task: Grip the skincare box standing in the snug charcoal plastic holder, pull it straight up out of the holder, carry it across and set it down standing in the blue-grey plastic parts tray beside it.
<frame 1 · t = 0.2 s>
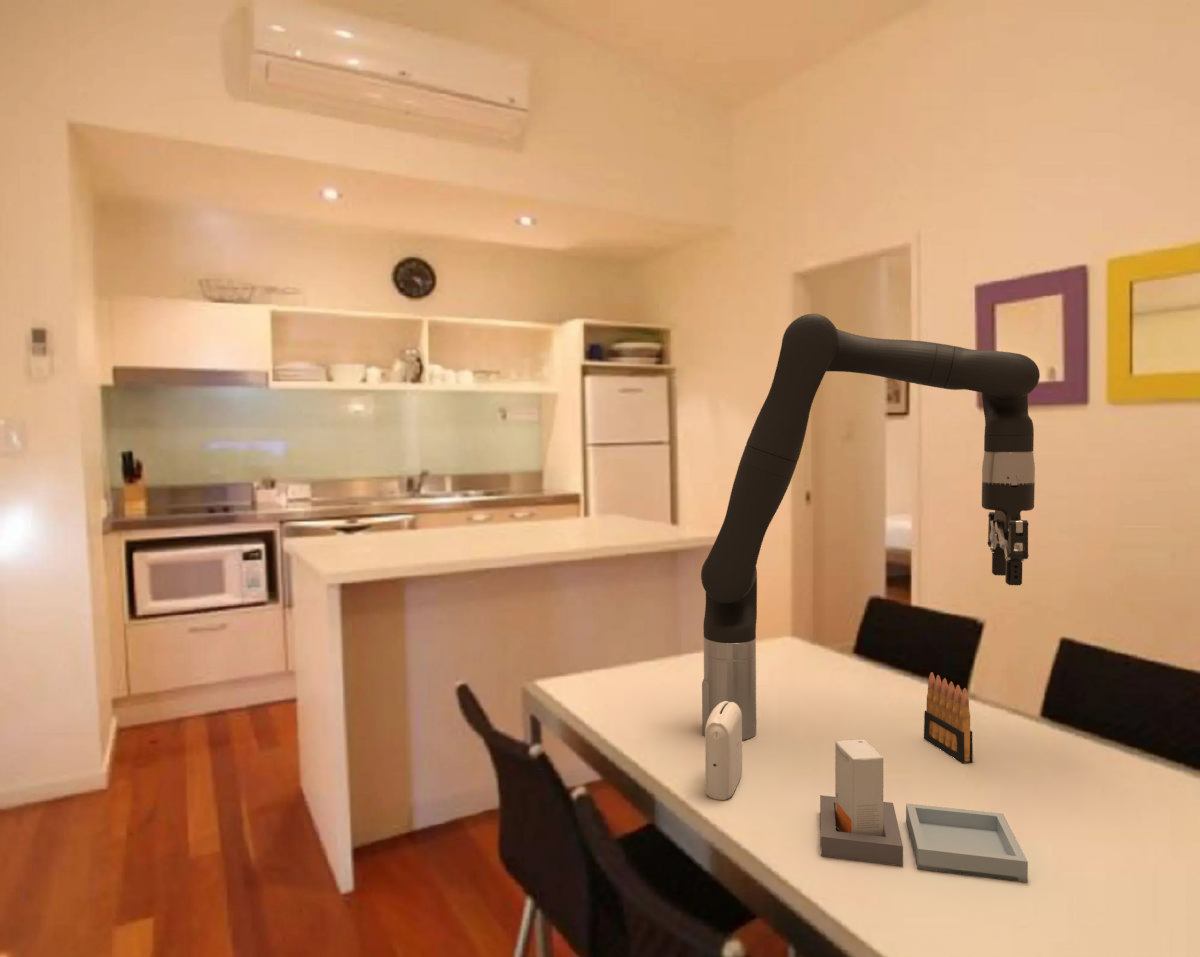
hand: (1006, 579, 125), 29 cm above the table, tool pointing down, fingers open, 8 cm apart
ammunition clip: (947, 751, 129), on the table
holder: (858, 837, 101), on the table
skincare box: (858, 839, 101), resting in holder
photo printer: (724, 786, 117), on the table
parts tray: (962, 849, 98), on the table
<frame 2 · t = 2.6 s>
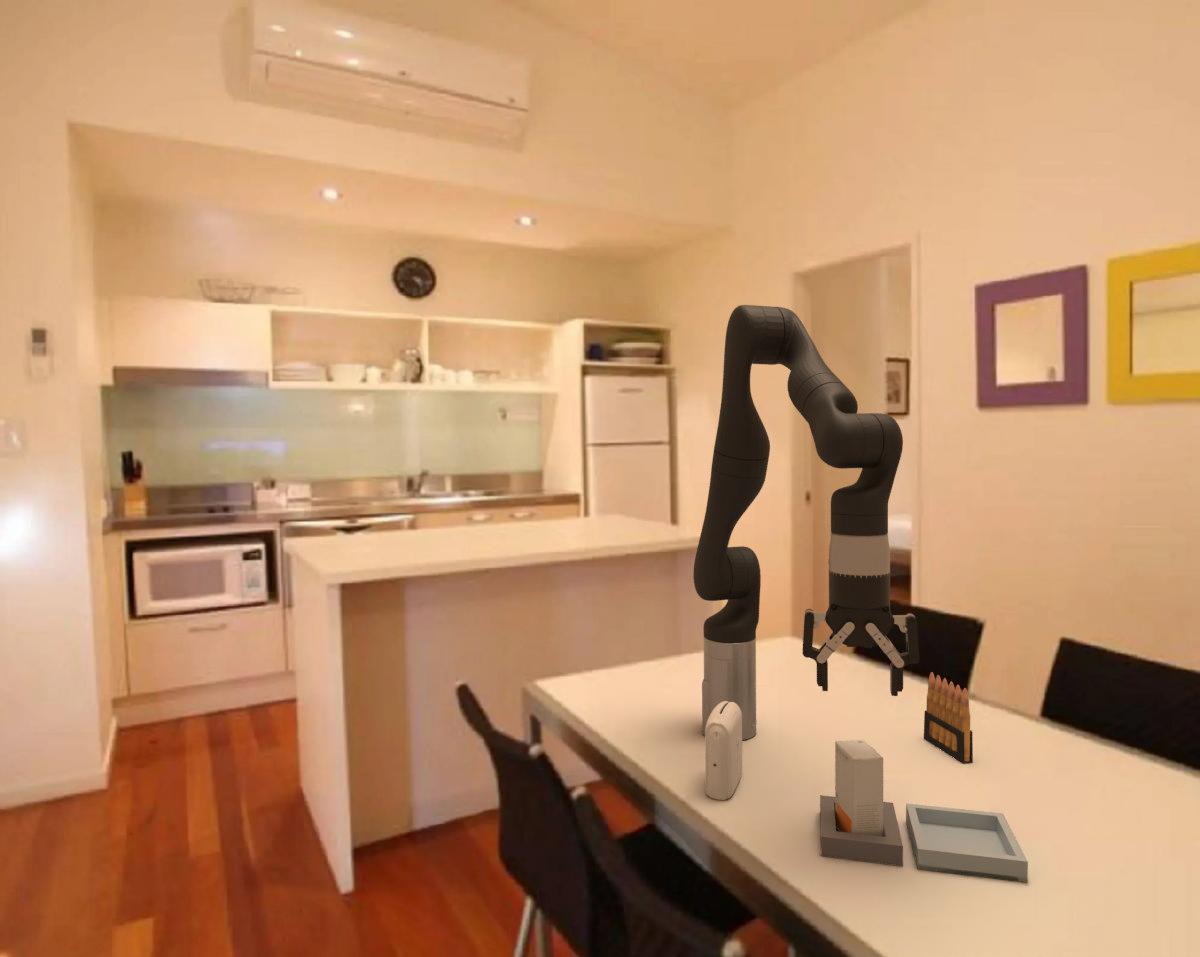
hand: (859, 691, 100), 19 cm above the table, tool pointing down, fingers open, 8 cm apart
nothing on the table moved.
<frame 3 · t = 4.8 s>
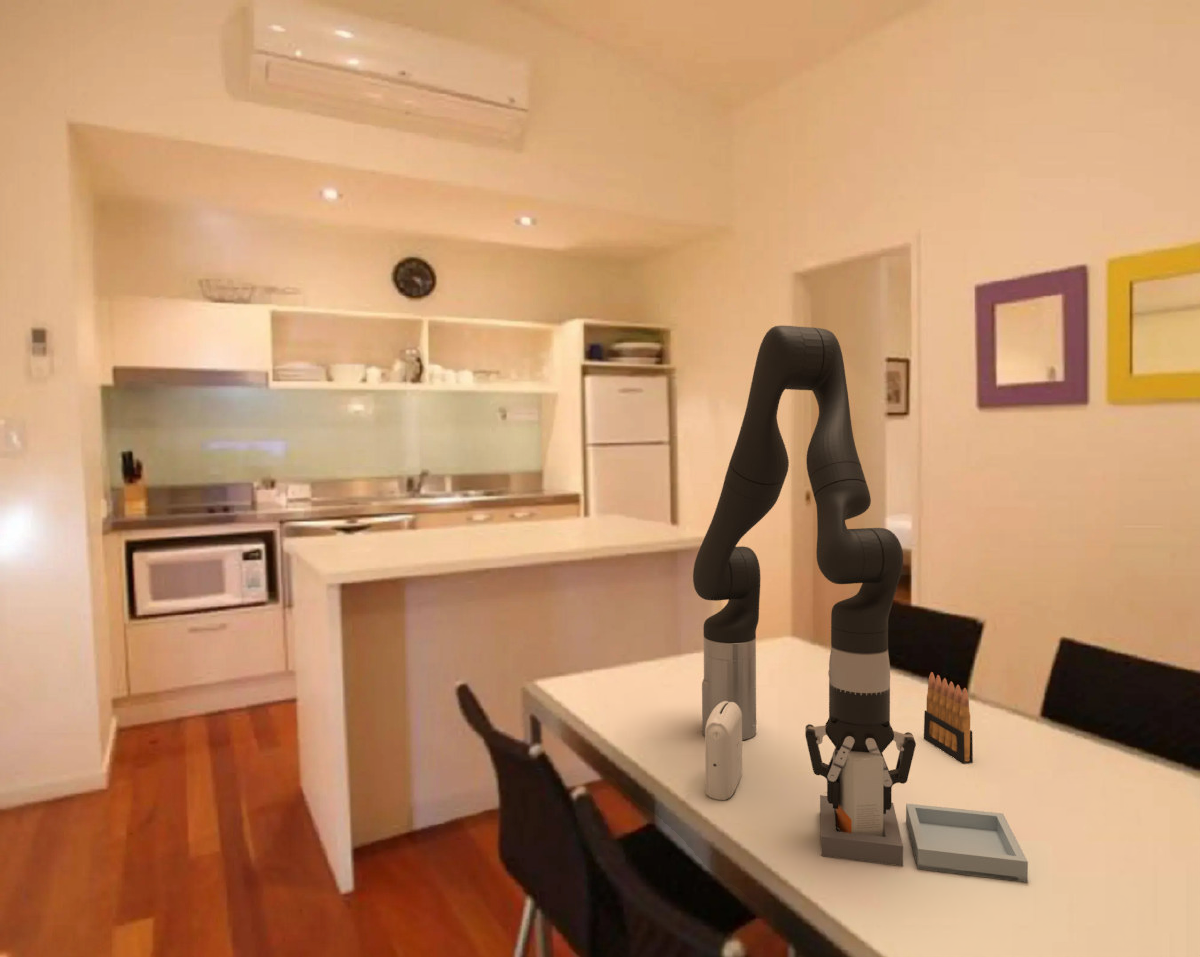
hand: (858, 808, 101), 4 cm above the table, tool pointing down, fingers closed on skincare box, 5 cm apart
skincare box: (858, 839, 101), resting in holder, touching gripper
everything else where it was.
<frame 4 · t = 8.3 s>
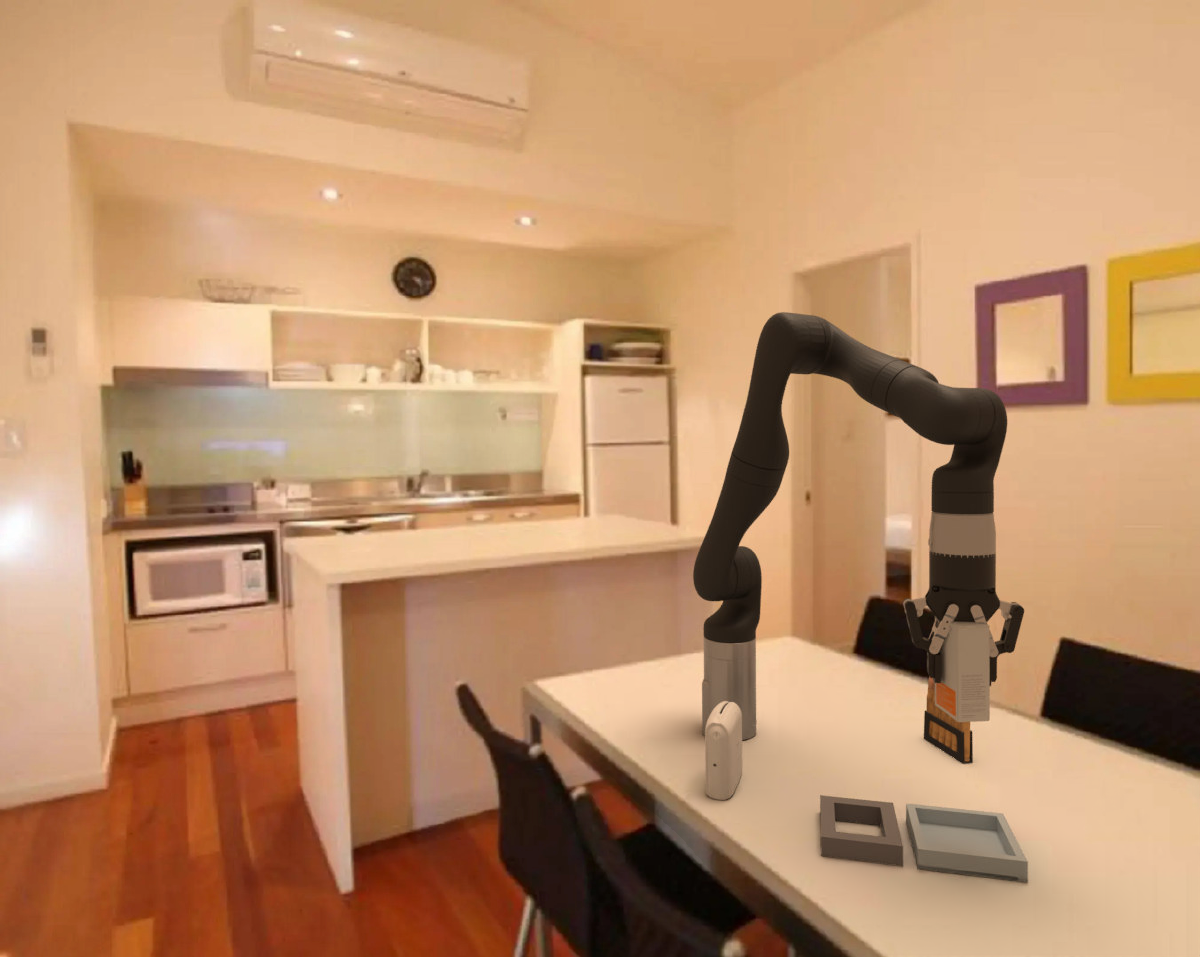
hand: (961, 682, 97), 22 cm above the table, tool pointing down, fingers closed on skincare box, 5 cm apart
skincare box: (961, 715, 97), point 17 cm above the table, touching gripper
everything else where it was.
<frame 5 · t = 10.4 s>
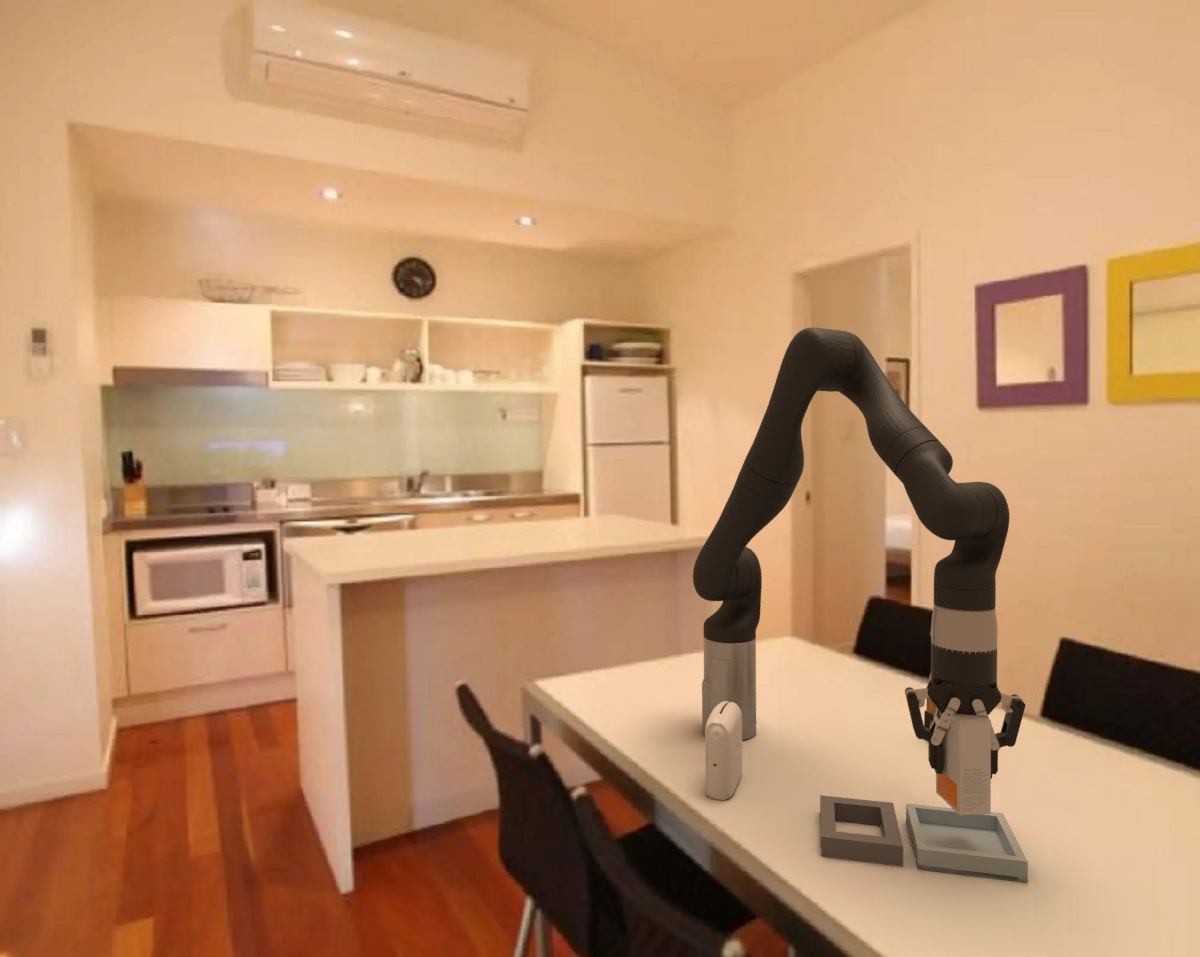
hand: (962, 773, 97), 10 cm above the table, tool pointing down, fingers closed on skincare box, 5 cm apart
skincare box: (962, 805, 98), point 6 cm above the table, touching gripper
everything else where it was.
when the fingers open (6 cm above the table, at t = 12.1 s): skincare box drops 1 cm, resting on parts tray.
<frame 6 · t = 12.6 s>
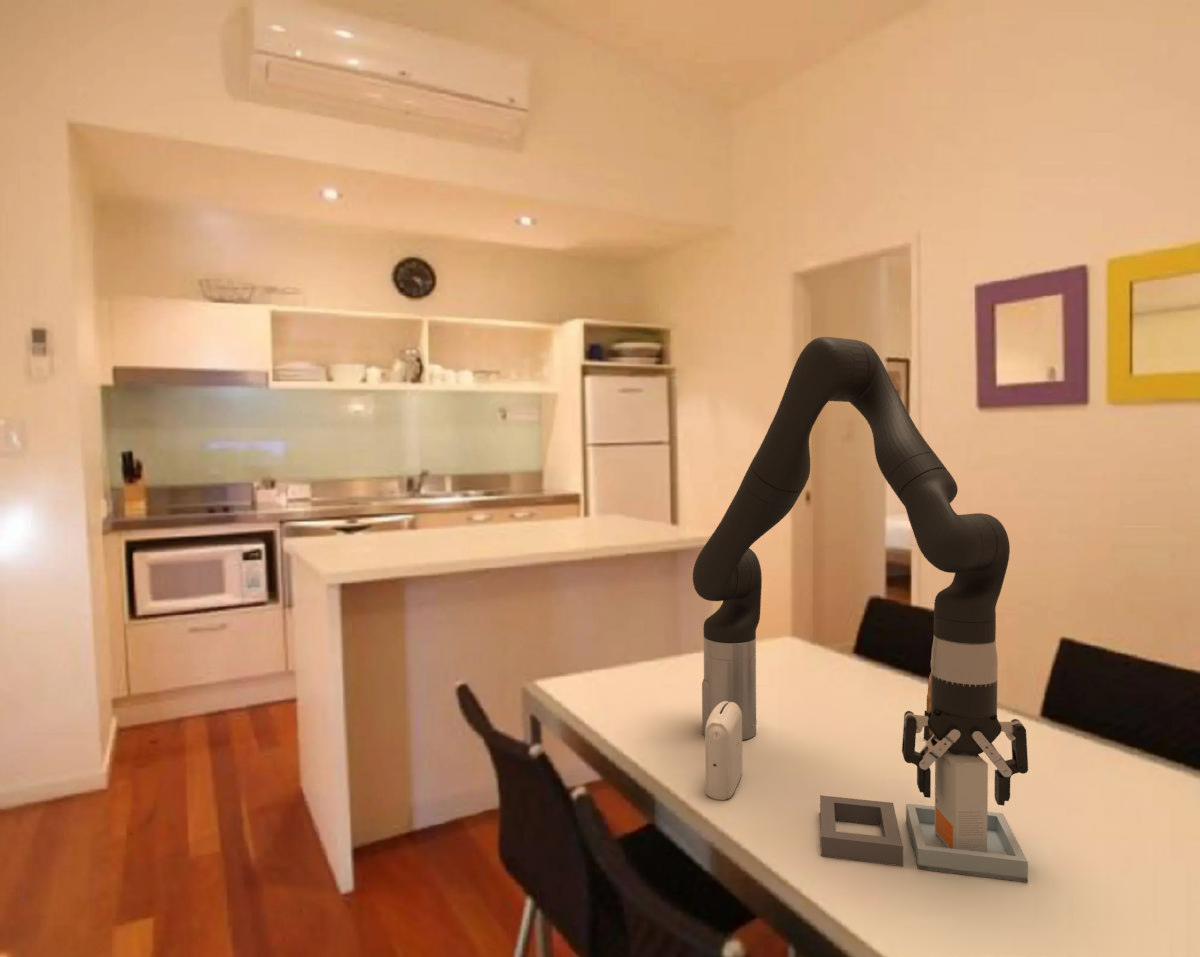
hand: (962, 798, 98), 7 cm above the table, tool pointing down, fingers open, 8 cm apart
skincare box: (960, 846, 98), resting on parts tray
everything else where it was.
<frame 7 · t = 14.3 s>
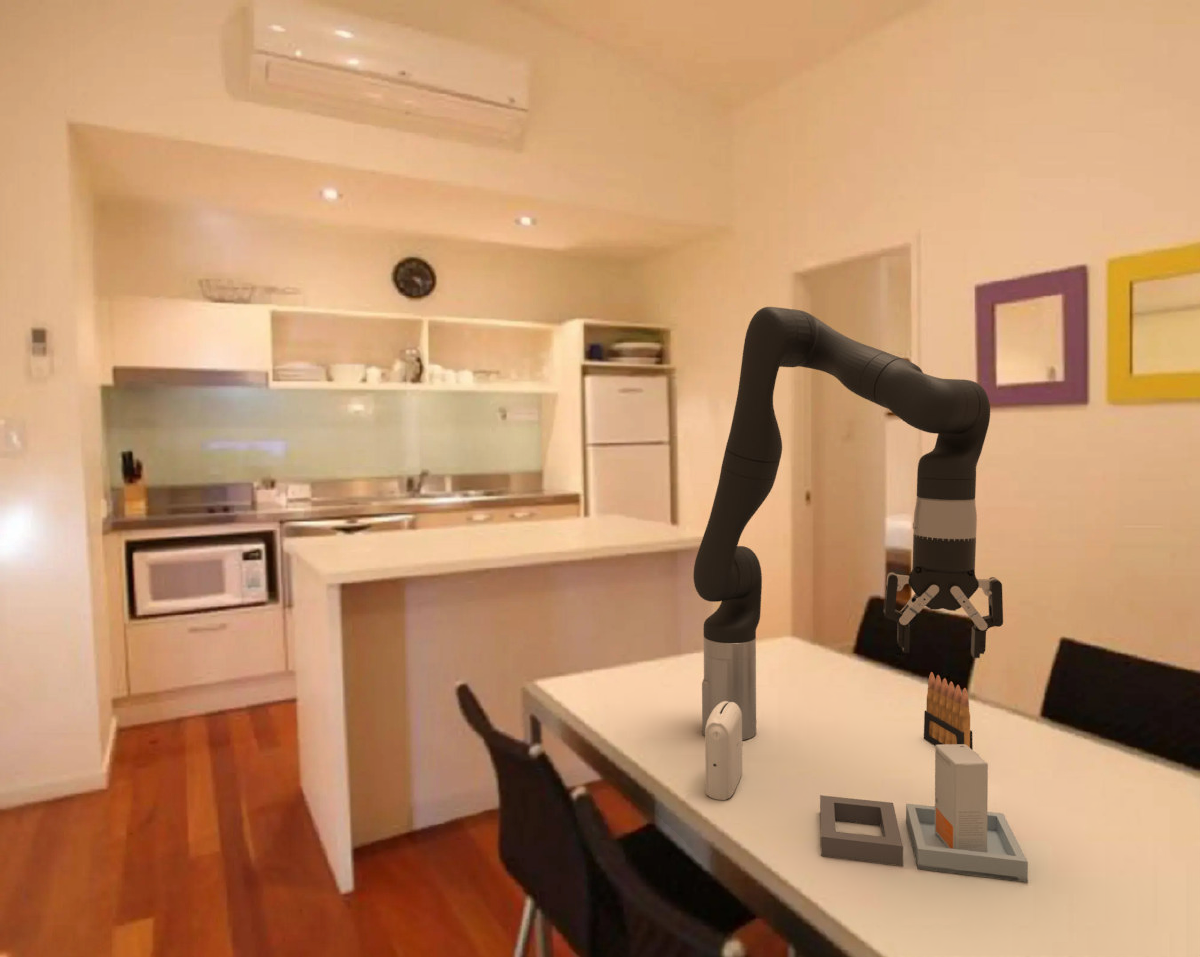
hand: (940, 653, 102), 24 cm above the table, tool pointing down, fingers open, 8 cm apart
nothing on the table moved.
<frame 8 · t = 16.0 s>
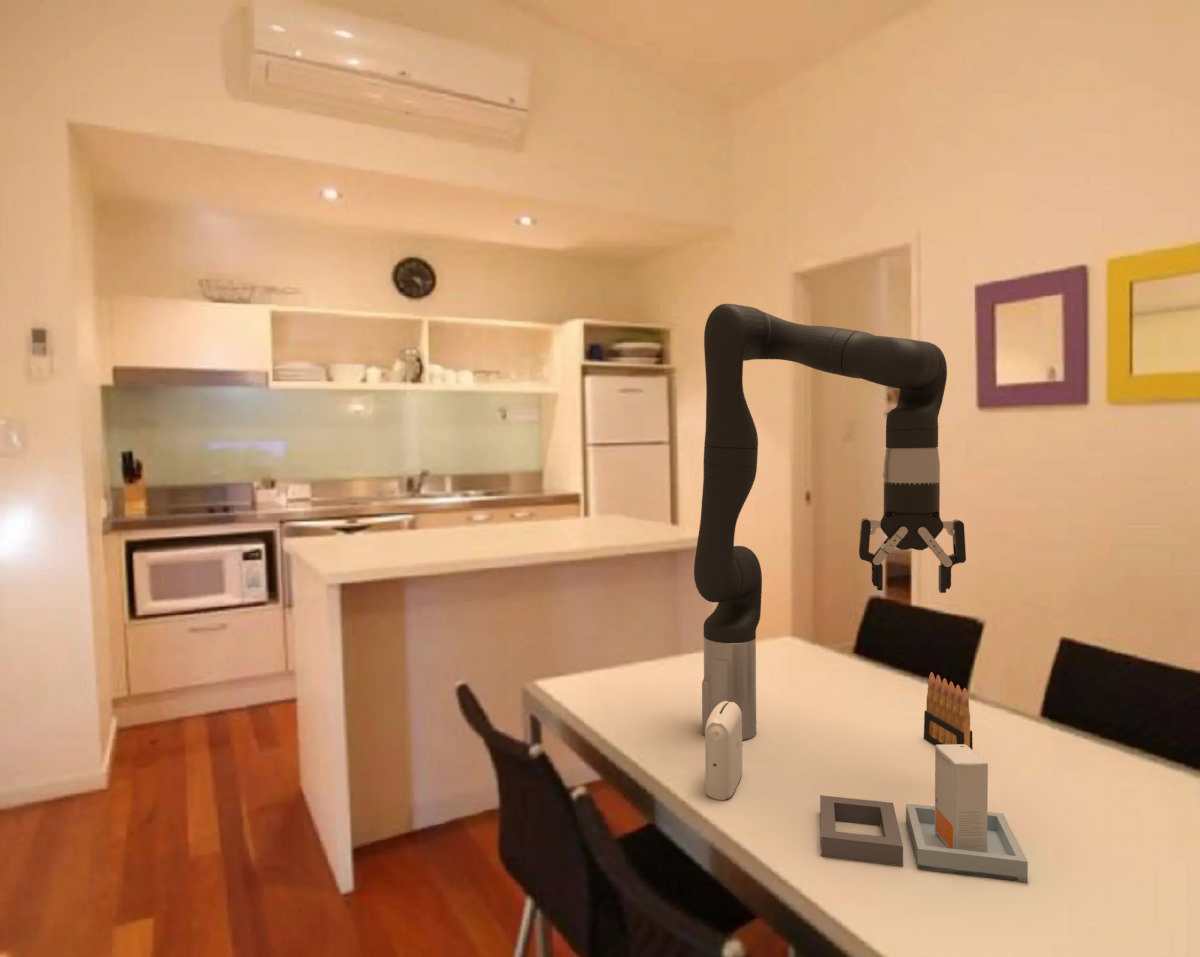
hand: (910, 590, 112), 30 cm above the table, tool pointing down, fingers open, 8 cm apart
nothing on the table moved.
at the end: skincare box inside the target area on the parts tray (0.2 cm from its centre), point 0.3 cm above the parts tray's base; skincare box tilted 0°; the gripper is holding nothing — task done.
